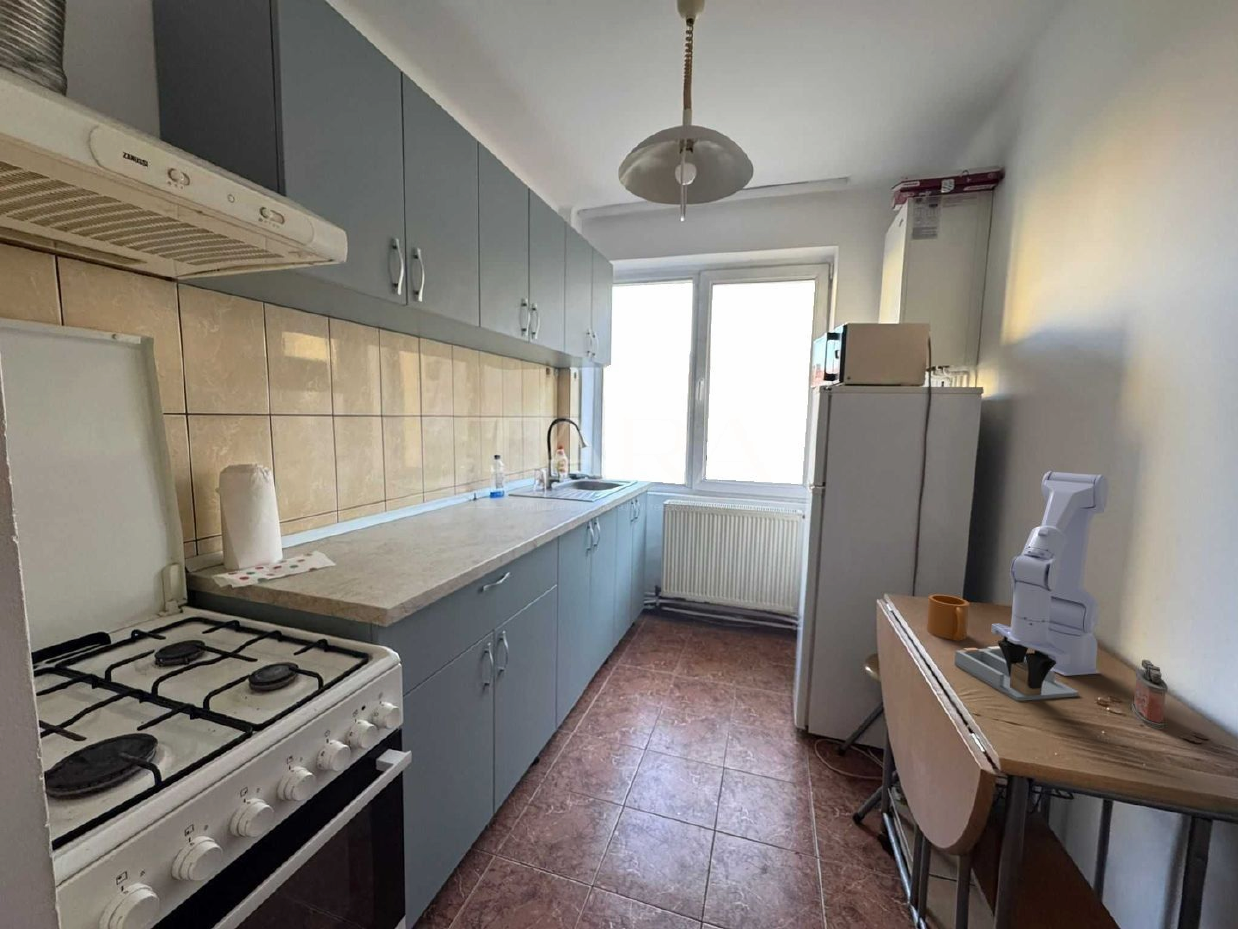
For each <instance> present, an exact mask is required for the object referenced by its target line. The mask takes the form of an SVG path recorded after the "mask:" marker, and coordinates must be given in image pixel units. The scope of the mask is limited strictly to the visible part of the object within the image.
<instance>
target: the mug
mask: <svg viewBox="0 0 1238 929" xmlns="http://www.w3.org/2000/svg"><path fill="white" fill-rule="evenodd" d="M927 602H928V603H927V615H926V616H927V617H926V618H927V619H926V631H927V632H928V633H929V634H931V635H933V636H936V637H938V638H942V639H945V638H946V640H951V641H952V640H953V641H956V642H961V641H963V640H962V639H964V640H966V639H967V638H968V628H969V626H968V625H969V612H970V603H969V601H967V600H966V599H963V598H961V597H958V596H953V595H946V594H931V595H928V601H927ZM965 638H966V639H965Z"/></svg>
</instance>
